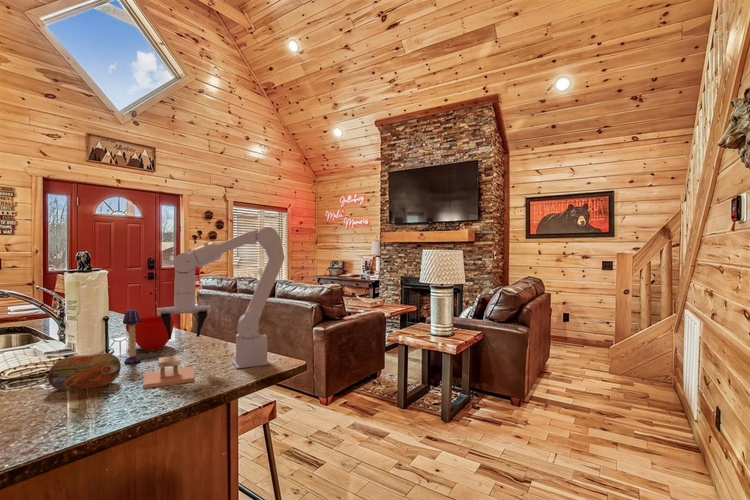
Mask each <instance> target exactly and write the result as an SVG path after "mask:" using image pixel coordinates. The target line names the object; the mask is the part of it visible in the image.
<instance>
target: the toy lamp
mask: <svg viewBox="0 0 750 500" xmlns="http://www.w3.org/2000/svg"><path fill="white" fill-rule="evenodd" d="M140 318H141V317H140V315H139V311H138V309H136V308H133V309H132V308H131V309H130V308H129V309H126V310H125V312H124V316H123V319H122V324H123V325H127V324H129V333H128V337H129V339H128V342H129V343H128V346H129V349H128V352H129V353H128V355H129V356H128V357H127V358H126V359H125V360H124V365H128V366H129V365H137V364H139V363H141V361H142V360H141V358H140V357H139V356H137V351H136V349H137V348H136V346H137V343H136V342H135V341H136V338H135V335H136V334H135V324H136V323H139V322H140Z"/></svg>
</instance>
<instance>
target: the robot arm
mask: <svg viewBox="0 0 750 500" xmlns="http://www.w3.org/2000/svg"><path fill="white" fill-rule="evenodd" d="M281 238H282V237H280V235H279V233H278V231H277V230H275V229H274V228H273V227H270V226H266V227H263V228H261V229H253V230H250V231H246V232H244V233H242V234H241V233H240V234H239V235H236V236H235V237H232V238H230V239H227V240H225V241H223V242H221V243H216V242H214V241H211V242H209V241H205V242H203V245H200V246H199V247H198V246H197V247H195V248H189V249H187V252H180V254H177V255H176V256H175V257H174V259H173V260H172V261H173V262H172V266H173V268H174V283H173V284H174V285H173V286H174V287H173V289H174V290H173V293H174V294H173V295H174V296H173V306H166V307H165V306H164V307H156V317H161V319H162V321H163V323H164V325H165V327H166V330H167V333H168V339H169V340H171V339H172V335H171V318H172V317H171V315H181V314H195V313H196V316H197V317H196V319H197V320H196V323H197V325H196V337H198V338H199V337H200V335H201V330H202V329H203V328H202V327H203V326H204V323H205V321H206V319H207V317H208V313H211V312H212V306H211V305H210V304H208V305H199V304H198V305H197V304H196V279H197V278H196V268H197V267H199V268H200V267H203V266H206V265H209V264H210V263H213V262H216V261H218V260H220V259H221V257H222V254H223V253H227V252H229V251H232V250H234V249H237V248H239V247H243V246H245V245H257V242H258V244H259V245H260V246H261V247H262V248H263V249H264V251H265V253H266V255H267V258H268V259H267V262H266V265H265V267H264V269H263V272H262V274H261V277H260V278H259V280H258V283H257V285H256V288H255V290H254V293H253V294H252V297H251V299H250V301H249V303H248V306H247V308H246V310H245V312H244V313H243V314H242V315H240V316H239V319H238V322H237V327H236V330H237V333H236V335H235V359H232V360H231V361H232V363H233V365H234V366H235V368H236V369H246V368H251V367H258V366H267V365H268V364H269V363H268V337H267V335H266V334H260V332H259V328H260V327H259V323H260V322H259V321H260V319H261V316H262V314H263V310H264V308H265V305H266V303H267V301H268V298H269V296H270V294H271V291H272V290H273V287H274V284H275V282H276V279H277V277H278V275H279V273H280V270H281V269H282V265H283V263H284V261H285V253H284V248H283V244H282V239H281Z"/></svg>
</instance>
